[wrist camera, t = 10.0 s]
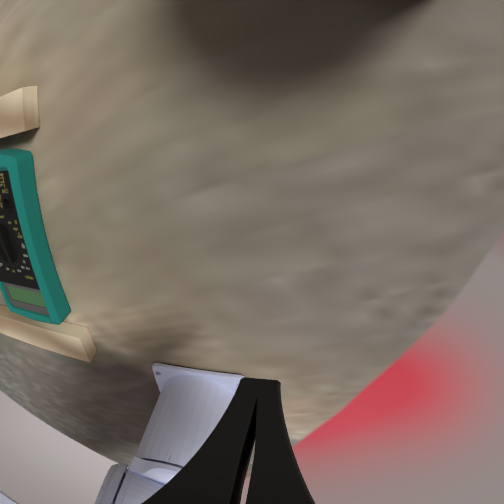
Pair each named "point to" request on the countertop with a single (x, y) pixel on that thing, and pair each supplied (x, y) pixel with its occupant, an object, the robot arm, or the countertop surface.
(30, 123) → the notched board
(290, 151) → the countertop surface
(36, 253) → the digital multimeter
